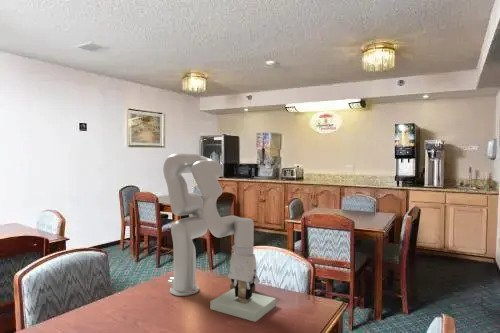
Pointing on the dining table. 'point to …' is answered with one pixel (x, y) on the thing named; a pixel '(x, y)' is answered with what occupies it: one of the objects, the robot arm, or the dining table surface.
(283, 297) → the dining table surface
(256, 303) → the board
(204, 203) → the robot arm
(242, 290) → the peg
